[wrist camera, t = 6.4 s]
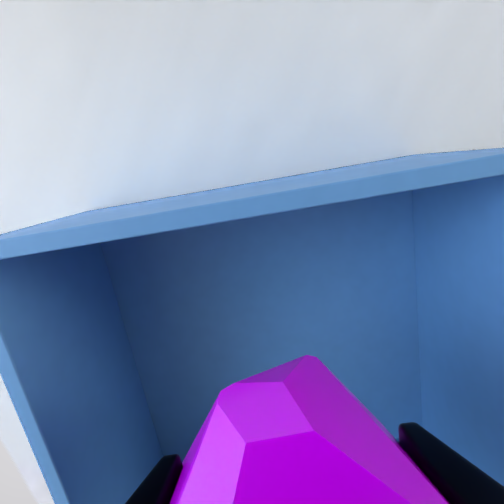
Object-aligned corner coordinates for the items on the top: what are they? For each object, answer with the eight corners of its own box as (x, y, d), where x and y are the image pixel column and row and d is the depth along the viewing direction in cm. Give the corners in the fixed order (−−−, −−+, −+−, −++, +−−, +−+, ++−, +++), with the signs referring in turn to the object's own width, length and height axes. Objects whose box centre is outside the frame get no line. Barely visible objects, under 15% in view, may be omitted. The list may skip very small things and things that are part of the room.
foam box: (427, 433, 18) (533, 594, 11) (162, 469, 19) (111, 642, 12) (416, 154, 14) (566, 142, 7) (85, 211, 15) (-54, 248, 8)
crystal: (241, 312, 9) (229, 468, 4) (415, 388, 9) (568, 597, 5) (168, 454, 10) (97, 696, 5) (326, 514, 10) (381, 778, 6)
